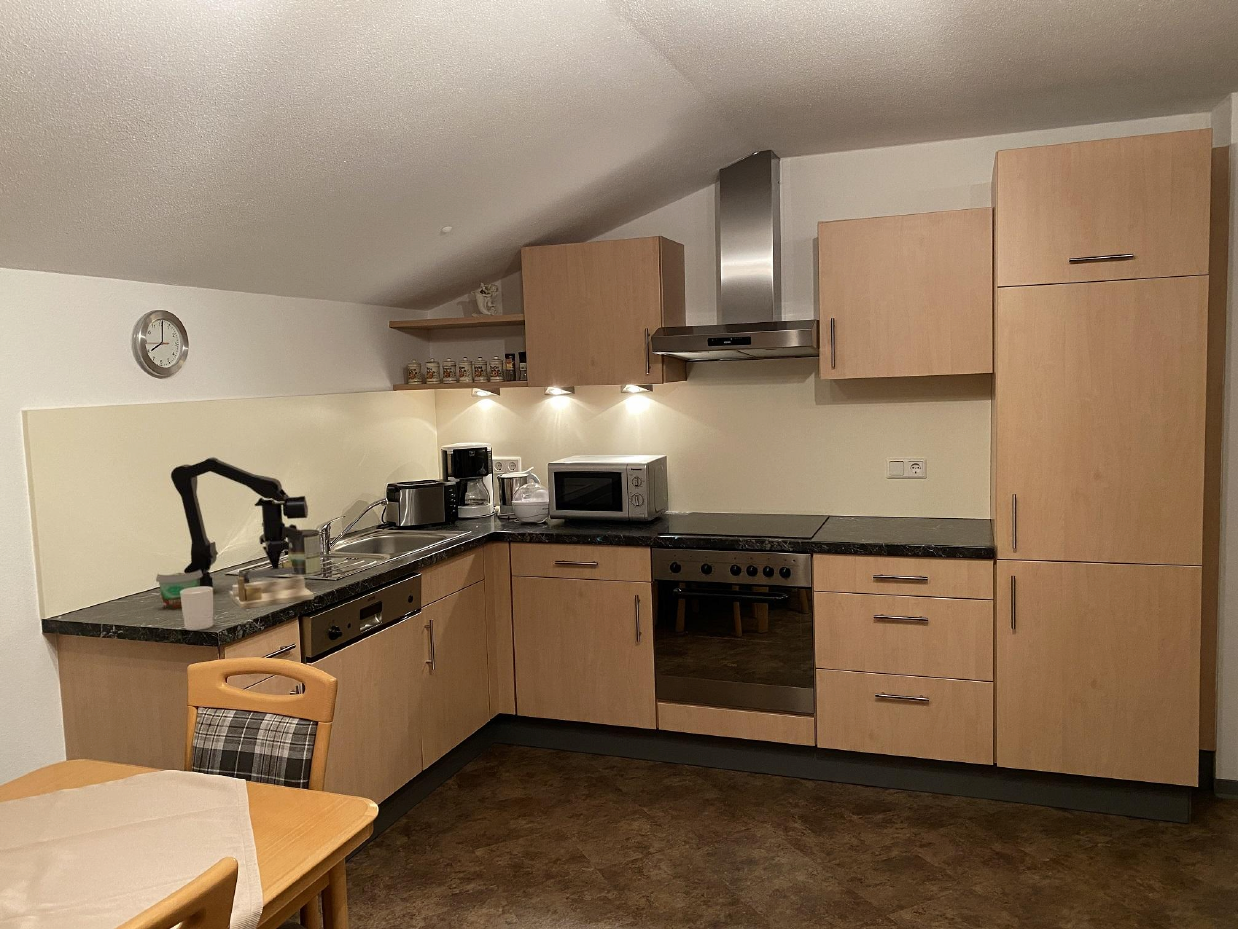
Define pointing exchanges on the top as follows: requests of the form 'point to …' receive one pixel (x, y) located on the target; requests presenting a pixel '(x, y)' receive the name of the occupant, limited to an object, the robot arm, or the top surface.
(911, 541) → the top surface
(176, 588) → the food container
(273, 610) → the top surface
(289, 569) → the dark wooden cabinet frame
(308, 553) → the coffee can
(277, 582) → the wooden base tray
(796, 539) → the top surface
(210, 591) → the white cup
